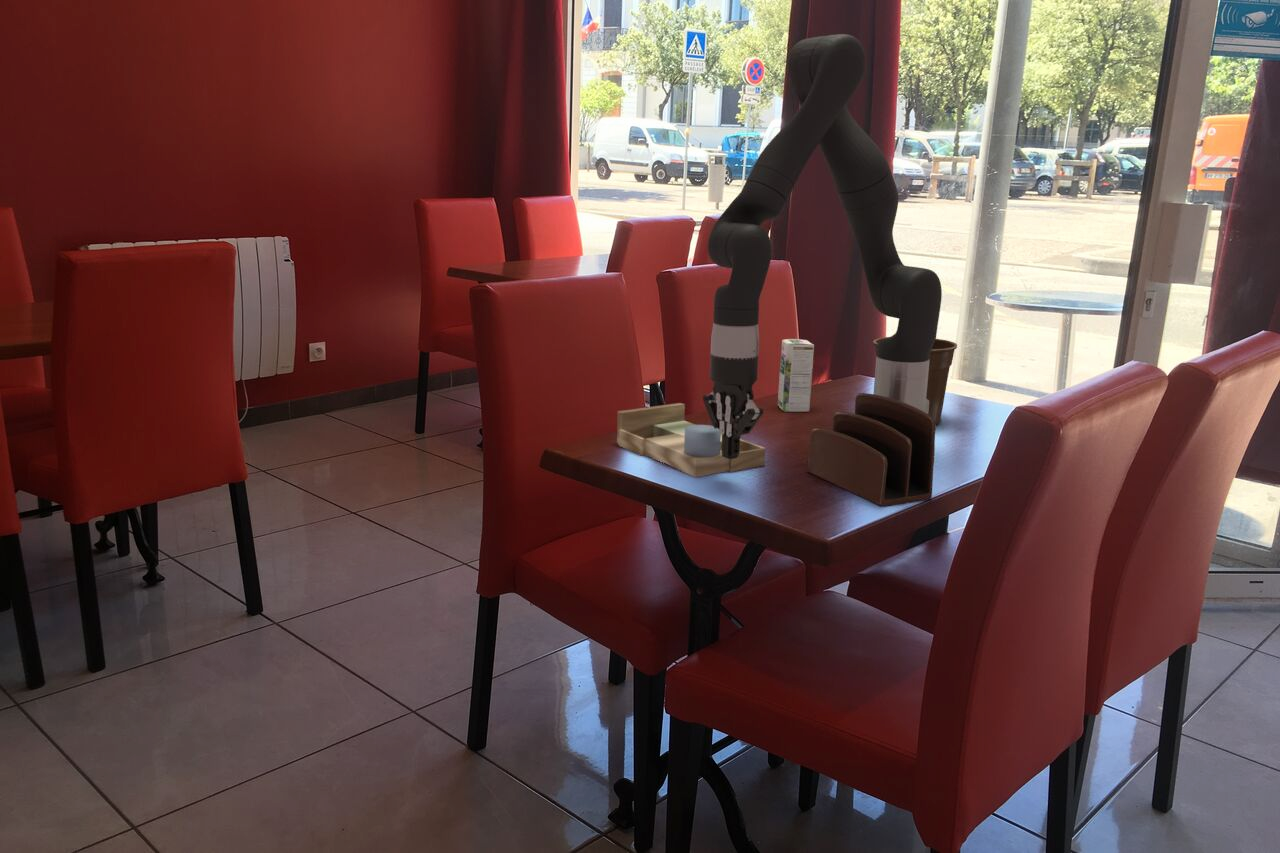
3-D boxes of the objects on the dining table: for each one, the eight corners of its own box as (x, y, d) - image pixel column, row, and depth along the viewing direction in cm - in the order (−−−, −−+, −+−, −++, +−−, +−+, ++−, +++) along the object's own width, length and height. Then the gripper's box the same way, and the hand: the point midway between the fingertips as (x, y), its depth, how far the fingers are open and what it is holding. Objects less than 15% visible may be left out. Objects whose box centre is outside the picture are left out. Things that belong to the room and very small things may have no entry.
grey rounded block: (705, 445, 178) (706, 423, 177) (727, 454, 173) (728, 431, 172) (677, 450, 174) (677, 427, 173) (698, 459, 170) (699, 435, 169)
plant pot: (852, 420, 210) (858, 341, 206) (890, 407, 222) (896, 332, 218) (927, 435, 200) (935, 352, 196) (962, 420, 212) (970, 342, 208)
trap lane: (765, 465, 178) (767, 431, 176) (694, 478, 169) (695, 443, 168) (681, 433, 197) (682, 402, 196) (614, 443, 189) (614, 411, 188)
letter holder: (854, 466, 179) (860, 386, 175) (932, 500, 161) (940, 412, 158) (806, 472, 174) (811, 391, 171) (881, 508, 157) (888, 418, 154)
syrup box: (776, 406, 221) (780, 338, 217) (803, 405, 221) (807, 338, 218) (783, 412, 215) (787, 343, 212) (810, 412, 216) (815, 343, 212)
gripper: (780, 356, 160) (774, 464, 164) (726, 343, 170) (722, 444, 175) (742, 361, 156) (737, 471, 160) (690, 347, 166) (686, 451, 171)
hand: (729, 457), depth 167 cm, fingers closed
